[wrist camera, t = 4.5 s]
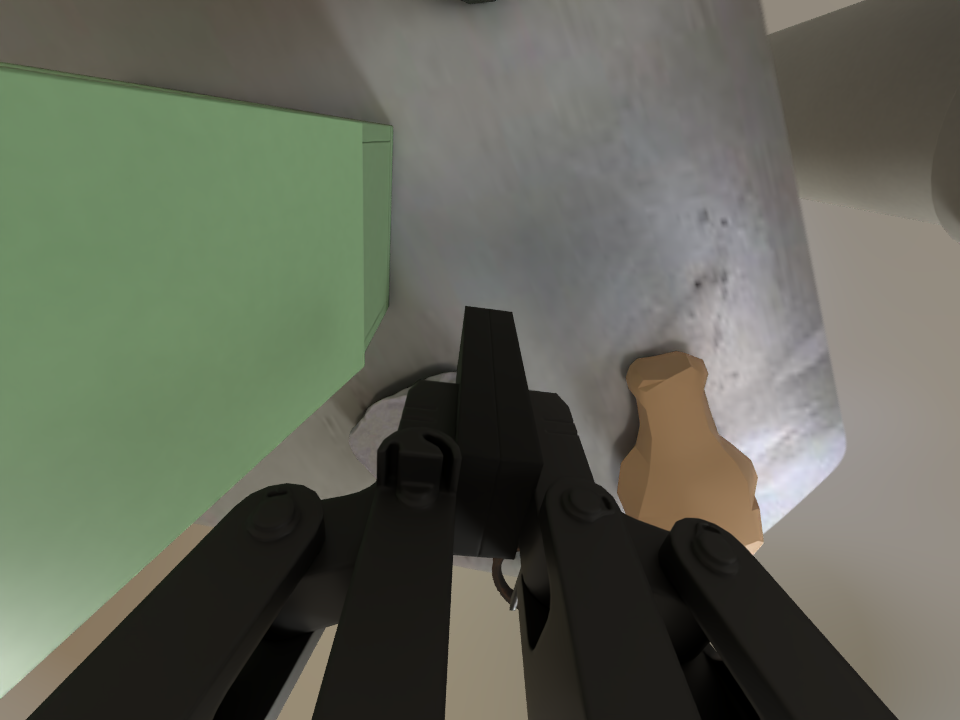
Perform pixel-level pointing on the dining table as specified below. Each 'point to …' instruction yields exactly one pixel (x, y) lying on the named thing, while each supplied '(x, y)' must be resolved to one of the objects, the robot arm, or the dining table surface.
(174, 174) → the chest lid
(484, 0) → the potion bottle
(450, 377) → the stone block
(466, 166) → the dining table surface
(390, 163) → the chest
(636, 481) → the squash
